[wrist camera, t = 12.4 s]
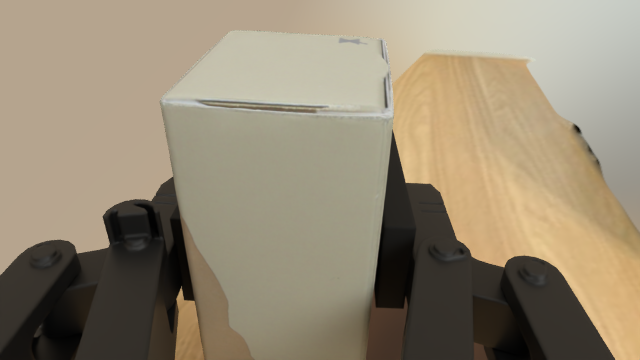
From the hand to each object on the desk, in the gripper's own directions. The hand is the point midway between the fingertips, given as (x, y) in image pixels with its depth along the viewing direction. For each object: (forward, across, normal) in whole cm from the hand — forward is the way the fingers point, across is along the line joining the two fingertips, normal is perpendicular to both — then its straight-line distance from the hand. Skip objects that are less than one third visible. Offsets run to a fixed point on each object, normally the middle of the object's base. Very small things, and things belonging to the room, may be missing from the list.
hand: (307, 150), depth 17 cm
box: (-5, 0, -6) cm, 8 cm away
